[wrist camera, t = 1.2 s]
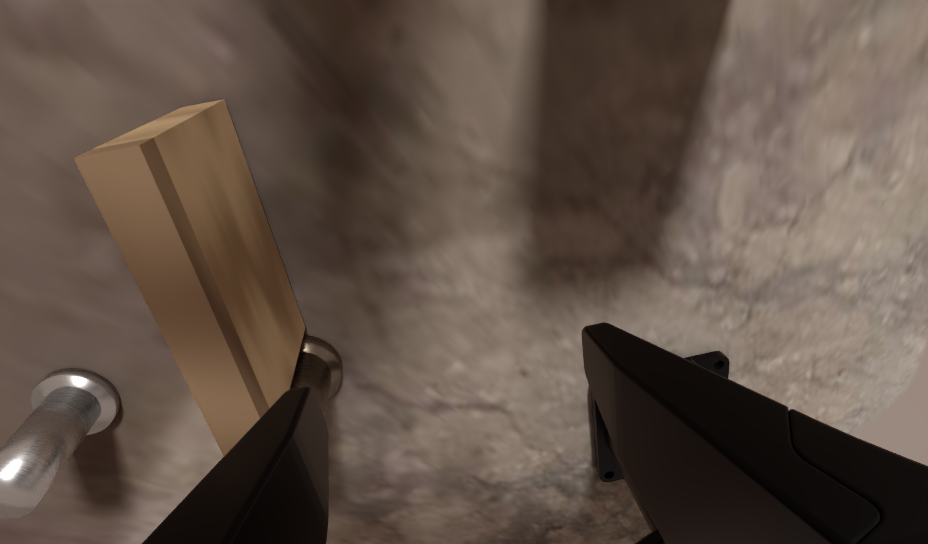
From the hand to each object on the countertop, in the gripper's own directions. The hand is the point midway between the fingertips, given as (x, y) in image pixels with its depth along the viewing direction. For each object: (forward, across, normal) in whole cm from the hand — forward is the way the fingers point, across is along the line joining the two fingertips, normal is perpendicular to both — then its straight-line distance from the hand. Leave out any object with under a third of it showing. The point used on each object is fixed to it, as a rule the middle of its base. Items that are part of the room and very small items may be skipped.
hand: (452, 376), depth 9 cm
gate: (+12, +6, +1) cm, 13 cm away
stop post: (+12, +15, +6) cm, 20 cm away
